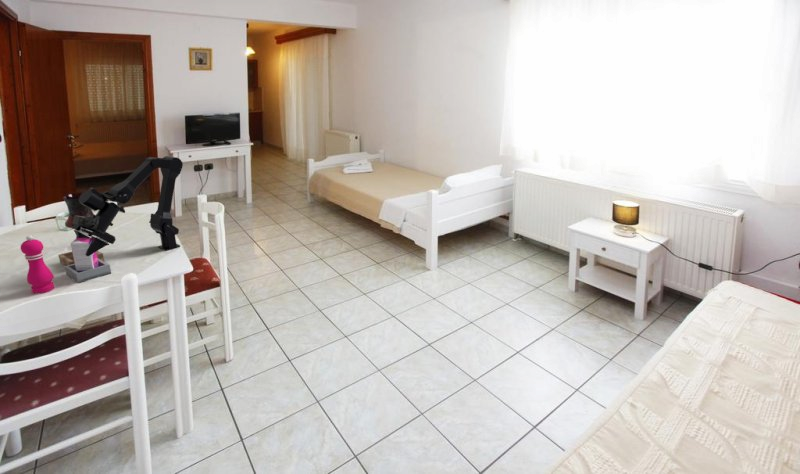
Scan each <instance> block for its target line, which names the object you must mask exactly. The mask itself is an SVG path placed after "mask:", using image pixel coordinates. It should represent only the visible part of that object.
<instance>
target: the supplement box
mask: <svg viewBox="0 0 800 474" xmlns="http://www.w3.org/2000/svg"><path fill="white" fill-rule="evenodd" d="M91 242H92V239H91V237H90V238H75V239H74V240H73V241H72V242H71V243H69V244H70V247H71V248H70V249H71V252H72V253H73V257H74V262H75V267H76V271H77V272H83V271H86V270H90V269H93V268H96V267H97V266H98V265H99V263H98V258H97V253H96V252H95V253H93V254H91V255H90V256H86V255H85V254H86V252H87V250H88V248H89V246H90V244H91Z"/></svg>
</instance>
